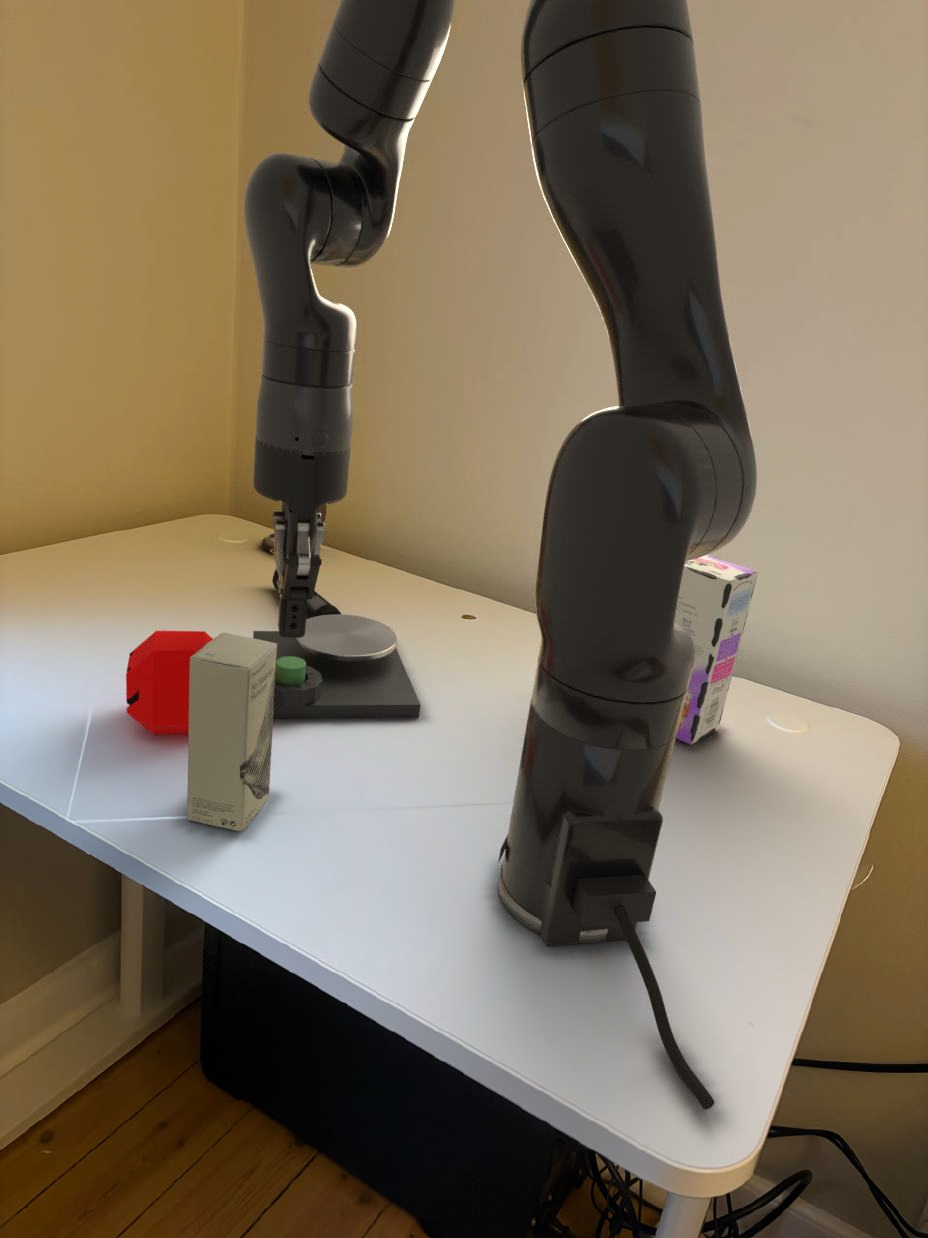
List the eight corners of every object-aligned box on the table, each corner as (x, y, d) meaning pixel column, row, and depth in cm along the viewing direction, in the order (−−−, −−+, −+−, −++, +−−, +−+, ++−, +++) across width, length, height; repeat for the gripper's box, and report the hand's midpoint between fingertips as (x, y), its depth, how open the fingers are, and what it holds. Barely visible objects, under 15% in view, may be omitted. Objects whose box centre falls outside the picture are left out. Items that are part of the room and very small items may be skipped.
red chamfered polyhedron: (132, 701, 80) (131, 620, 77) (227, 700, 82) (229, 621, 79) (124, 748, 73) (123, 661, 70) (229, 746, 75) (231, 662, 72)
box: (242, 835, 64) (249, 670, 60) (183, 822, 65) (186, 657, 60) (271, 796, 69) (280, 640, 64) (217, 783, 70) (221, 628, 65)
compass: (269, 538, 125) (271, 486, 122) (326, 547, 124) (330, 495, 122) (250, 556, 117) (252, 501, 115) (311, 565, 117) (314, 510, 114)
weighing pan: (405, 662, 87) (405, 656, 87) (298, 661, 84) (298, 655, 84) (386, 620, 96) (387, 614, 96) (289, 618, 93) (289, 613, 93)
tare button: (306, 686, 81) (307, 668, 80) (276, 686, 80) (277, 668, 79) (303, 673, 83) (304, 655, 82) (274, 673, 82) (274, 655, 81)
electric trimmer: (294, 588, 110) (296, 562, 108) (350, 637, 98) (352, 610, 97) (264, 590, 108) (265, 565, 107) (317, 642, 96) (318, 613, 95)
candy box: (720, 730, 89) (762, 570, 82) (690, 748, 84) (731, 581, 78) (604, 676, 97) (634, 526, 91) (570, 690, 93) (599, 534, 86)
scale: (419, 719, 83) (423, 690, 82) (258, 721, 79) (260, 691, 78) (388, 644, 97) (390, 618, 96) (250, 643, 93) (251, 616, 92)
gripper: (251, 415, 78) (243, 603, 85) (260, 453, 66) (250, 668, 73) (340, 422, 80) (325, 605, 87) (363, 460, 68) (344, 668, 75)
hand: (291, 634), depth 80 cm, fingers closed
